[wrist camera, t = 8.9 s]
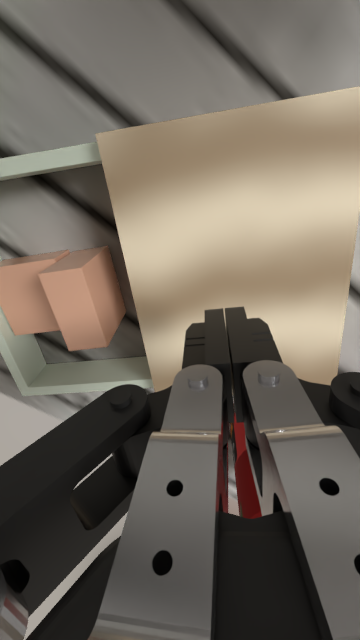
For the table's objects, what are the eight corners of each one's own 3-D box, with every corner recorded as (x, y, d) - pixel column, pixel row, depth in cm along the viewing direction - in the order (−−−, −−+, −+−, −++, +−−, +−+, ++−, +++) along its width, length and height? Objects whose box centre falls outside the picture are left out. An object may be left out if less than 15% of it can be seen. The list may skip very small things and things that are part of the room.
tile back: (54, 258, 18) (70, 248, 20) (-18, 269, 19) (5, 258, 21) (79, 327, 20) (91, 312, 22) (15, 335, 21) (32, 319, 23)
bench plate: (117, 141, 17) (95, 133, 13) (336, 103, 15) (377, 83, 12) (163, 365, 24) (156, 399, 20) (314, 353, 22) (335, 388, 19)
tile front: (108, 245, 20) (73, 251, 20) (81, 267, 15) (37, 274, 16) (126, 311, 22) (95, 315, 22) (107, 346, 17) (69, 351, 18)
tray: (-48, 173, 18) (-91, 174, 15) (118, 145, 17) (102, 140, 14) (41, 372, 25) (22, 396, 22) (162, 363, 24) (157, 387, 21)
